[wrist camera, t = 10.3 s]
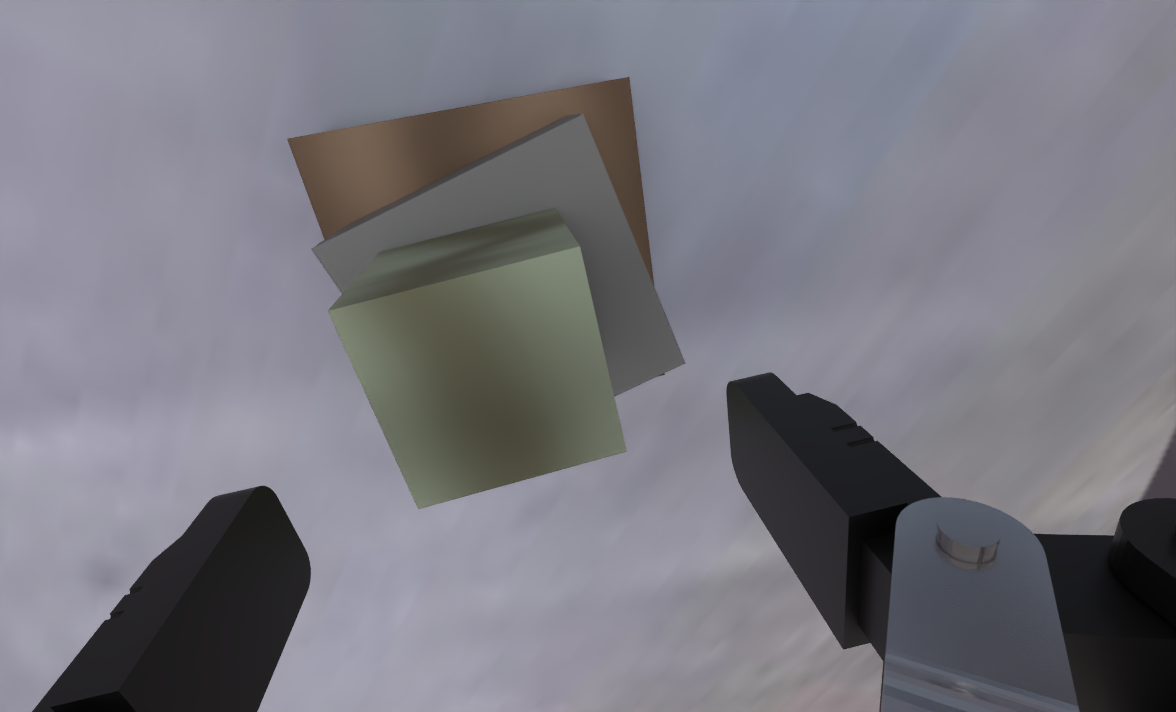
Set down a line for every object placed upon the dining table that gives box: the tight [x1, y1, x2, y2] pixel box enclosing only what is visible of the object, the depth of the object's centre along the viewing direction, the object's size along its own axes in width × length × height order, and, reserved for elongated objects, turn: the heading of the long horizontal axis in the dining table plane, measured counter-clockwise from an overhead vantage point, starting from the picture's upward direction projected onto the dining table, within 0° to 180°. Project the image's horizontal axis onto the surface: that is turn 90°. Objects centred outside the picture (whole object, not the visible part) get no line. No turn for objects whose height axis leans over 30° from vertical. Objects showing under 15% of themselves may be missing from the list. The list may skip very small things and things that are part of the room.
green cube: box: [328, 208, 627, 509], centre depth 15 cm, size 6×6×6 cm
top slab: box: [311, 114, 685, 396], centre depth 20 cm, size 9×9×4 cm
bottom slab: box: [287, 77, 665, 376], centre depth 23 cm, size 12×12×4 cm
